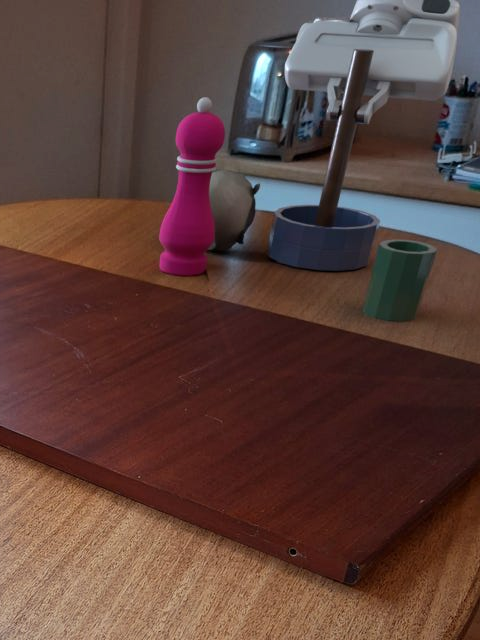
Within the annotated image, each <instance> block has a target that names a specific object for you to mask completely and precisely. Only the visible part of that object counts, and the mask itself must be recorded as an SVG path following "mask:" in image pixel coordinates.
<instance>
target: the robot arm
mask: <svg viewBox="0 0 480 640" xmlns="http://www.w3.org/2000/svg"><path fill="white" fill-rule="evenodd" d="M460 14H461V5H460V3H459V1H457V0H356V2H355V5H354V8H353V10H352V12H351V14H350V16H349V17H341V16H339V17H327V16H316V17H315V18H314V19H312V20H309V21H306V22H304V23H303V24H302V25H301V27H300V28H299V31H298V33H297V35H296V39H295V42H294V44H293V46H292V48H291V50H290V51H289V54H288V56H287V58H286V59H285V60H286V61H285V63H284V78H285V83H286V85H287V88H288V89H290V90H299V91H311V92H320V93H321V92H322V93H327V100H328V101H327V102H328V107H327V109H326V114H325V115H326V116H325V117H326V119H325V120H326V121H332V122H337V121H338V117H339V112H340V108H341V103H342V99H339V98H340V97H341V94H344V90H345V85H346V81H347V76H348V72H349V67H350V63H351V58H352V54H353V50H354V49H369V50H374V53H373V57H372V61H371V65H370V70H369V74H368V78H367V83H366V87H365V91H364V95H363V96H370V97H371V96H372V97H371V99H369V101H367V102H366V101H362V103H361V105H360V109H359V110H358V112H357V116H356V119H357V120H356V123H357V124H360V125H369V124H370V121H371V119H372V116H373V114H376V112H377V111H378V110H380V109H381V108H382V107H383V106H384V105H386V104H387V102H388V100H389V98H393V99H406V100H418V101H419V100H420V101H430V102H431V101H432V102H435V101H438V100H439V99H441V98H442V97H444V96H445V95H446V93H447V91H448V88H449V86H450V82H451V78H452V74H453V68H454V63H455V58H456V57H455V56H456V51H457V45H458V34H459V33H458V31H459V26H460V19H461V18H460V17H461V16H460Z"/></svg>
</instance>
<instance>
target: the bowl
mask: <svg viewBox="0 0 480 640" xmlns="http://www.w3.org/2000/svg"><path fill="white" fill-rule="evenodd" d="M318 207H319V204H296V205H287V206H284V207H279V208H278V209H276V210H275V211H274V212H273V215H272V216H273V217H272V222H271V227H270V233H269V238H268V242H267V248H266V253H267V255H268V257H269V258H271V259H272V260H274V261H275V262H276V263H277V264H283V265H287V266H291V267H295V268H300V269H306V270H307V269H308V270H312V271H313V270H314V271H327V272H330V271H331V272H342V271H352V270H357V269H361V268H365V267H367V266H368V265H369V264H370V261H371V259H372V255H373V251H374V247H375V243H376V238H377V236H378V235H377V234H378V232H379V228H380V223H381V220H380V218H378V217H377V216H376V215H374V214H372V213H369V212H367V211H363V210H359V209H355V208H350V207H345V206H337V211H336V215H335V219H334V224H333V227H324V226H316V225H315V221H316V216H317V212H318Z"/></svg>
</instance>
